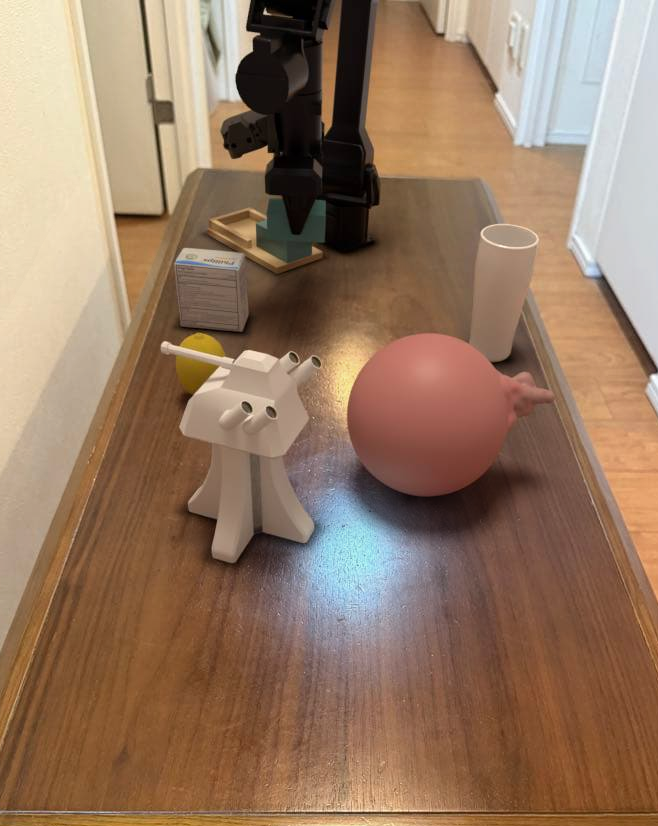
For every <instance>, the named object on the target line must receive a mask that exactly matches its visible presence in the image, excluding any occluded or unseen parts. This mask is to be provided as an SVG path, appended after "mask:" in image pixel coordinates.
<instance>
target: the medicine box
mask: <svg viewBox="0 0 658 826" xmlns="http://www.w3.org/2000/svg"><path fill="white" fill-rule="evenodd" d="M246 258H247V257H246V256H245V254H244V253H239V252H237V251H227V250H216V249H206V248H205V249H203V248H194V247H193V248H192V247H183V248H182V249H181V251H180V252H179V254H178V255H177V258H176V259H175V261H174V263H173V268H174V276H175V285H176V294H177V303H178V313H179V320H180V321H179V322H180V323H179V324H180V327H184V328H197V329H207V330H218V331H229V332H240V333H242V332H243V331H244V328H245V325H246V322H247V321H248V318H249V315H250V314H249V299H248V298H249V297H248V283H247V282H248V279H247V264H246V263H247V261H246Z"/></svg>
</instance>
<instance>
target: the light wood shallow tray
mask: <svg viewBox="0 0 658 826" xmlns="http://www.w3.org/2000/svg"><path fill="white" fill-rule="evenodd" d="M206 235H207V236H209V237H211V238H212V239H214V240H216V241H218V242H220V243H222V244H223V245H225V246H227V247H228V248H230V249H232V250H233V251H234V252H237V253H244V254H245V258H247V259H249V260H251V261H253V262H255V263H257V264H258V265H260V266H262V267H263V268H265V269H267V270H269V271H271V272H272V273H274V274H276V275H278V274H279V275H280V274H282V273H285V272H287V271H290V270H293V269H296V268H299V267H301V266H304V265H308V264H310V263H313V262H315V261H318V260H321V259H324V251H323V250H320V249H319V248H318V247H315V246H313V242H296V241H272V240H267V215H266V214H263V213H261V212H259V211H258V210H255V209H253V208H252V207H247V208H246V207H245V208H242V209H239V210H236V211H232V212H229V213H226V214H222V215H219V216H215V217H213V218H209V219H208V227H206Z"/></svg>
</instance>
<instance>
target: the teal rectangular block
mask: <svg viewBox="0 0 658 826" xmlns="http://www.w3.org/2000/svg"><path fill="white" fill-rule="evenodd" d="M267 202H268V204H267V207H266V208H267V209H266V216H267V240H272V241H296V242H312V243H320V244H321V243H324V244H325V215H326V201H325V200H315V202H314V204H313V207H312V209H311V211H310V213H309V216H308V218H307V221H306V223H305V225H304V228H303V230H302V232H301V234H300V235H293V234H292V233H291V229H290V225H289V221H288V217H287V213H286V209H285V205H284V201H283V198H278V197H276V198H275V197H269V198H268V201H267Z"/></svg>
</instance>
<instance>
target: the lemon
mask: <svg viewBox="0 0 658 826" xmlns="http://www.w3.org/2000/svg"><path fill="white" fill-rule="evenodd" d="M178 347H182V348H186V349H190V350H194V351H198V352H202V353H206V354H210V355H214V356H218V357H222V358H223V357H227V356H226V353H225V350H224V348H223V346H222V344H221V343H220V342H219V341H218V340H217V339H216V338H214V337H213V336H211V335H208V334H206V333H202V332H196V333H194V334H191V335H189V336H187V337H186V338H185V339H183V340H182V341H181V343H180V344H179V345H178ZM219 367H220V366H218V365H214V364H210V363H206V362H202V361H198V360H194V359H190V358H186V357H182V356H178V355H175V371H176V375H177V376H176V377H177V379H178V382H179V383H180V385H181V386H182V388H183V389H184V390H185V391H186V392H187V393H189V394H191V395H192V396H193V395H194V394H195V393H196V392H197V391H198V390H199V389H200V387H201V386H202V385H203V384H204V383H205V382H206V381H207V380H208V379H209V377H210V376H211V375H212V374H213V373H214V372H215V371H216V370H217V369H218V368H219Z"/></svg>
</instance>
